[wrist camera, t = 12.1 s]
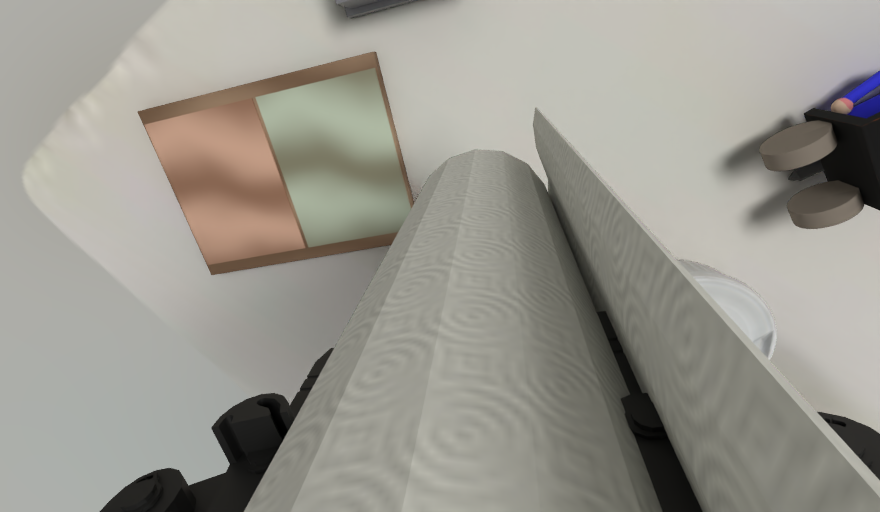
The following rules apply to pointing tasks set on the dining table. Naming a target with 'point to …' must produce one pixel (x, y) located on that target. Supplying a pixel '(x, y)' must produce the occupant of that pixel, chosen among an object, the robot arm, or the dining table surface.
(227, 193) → the game board
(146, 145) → the dining table surface
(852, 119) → the figurine character
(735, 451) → the paper towel roll
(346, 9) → the button base
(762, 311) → the ramekin
